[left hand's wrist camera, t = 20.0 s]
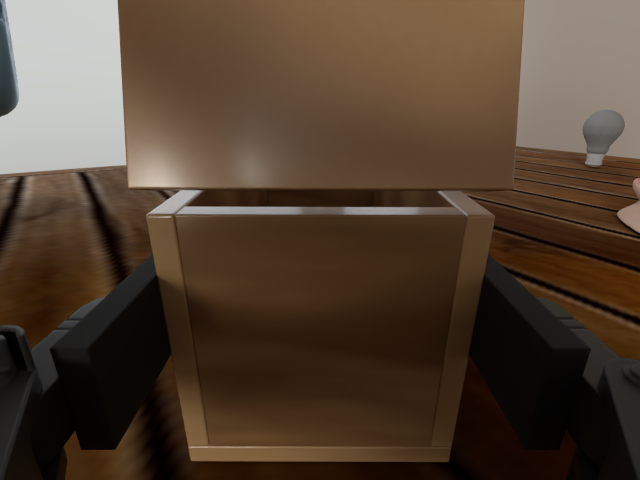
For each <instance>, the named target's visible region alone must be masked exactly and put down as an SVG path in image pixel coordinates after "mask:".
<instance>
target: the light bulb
mask: <svg viewBox="0 0 640 480" xmlns="http://www.w3.org/2000/svg"><path fill="white" fill-rule="evenodd" d="M624 126H625V123H624V119H623V118H622V116H621V115H620V114H619V113H618V112H615V111H612V110H603V111H599V112H596V113H594V114H593V115H592V116H590V117H589V118H588V119H587V120H586V122H585V123H584V126H583V135H584V138H585V140H586V143H587V152H588V153H587V156H588V157H586V158H587V159H586V160H587V161H586V162H585V164H587V165H588V166H591V167H597V166H600V165H602V160H603V158H604V156H605V154H606V153H607V151H608V150H609V147H610V145H611V144H612V143H613V142H614V141H615V140H616V139H617V138H618V137H619V136H620V135H621V133H622V132H623V130H624Z"/></svg>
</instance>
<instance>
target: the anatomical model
mask: <svg viewBox="0 0 640 480" xmlns="http://www.w3.org/2000/svg"><path fill="white" fill-rule="evenodd" d="M633 189H634V191H635V193H636V195H637V196H638V198H639V201H638V202H637V203H635V204H633V205H631V206H628V207H626V208H624V209H622V210H620V211H619V212H618V213H617V216H618V217H619V219H620V220H621V221H623V222H624V223H625V224H626V225H628V226H629V227H631V228H632V229H634V230H635V231H637V232H639V233H640V178H637V179H635V180H634V182H633Z"/></svg>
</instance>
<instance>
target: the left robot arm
mask: <svg viewBox="0 0 640 480" xmlns="http://www.w3.org/2000/svg"><path fill="white" fill-rule="evenodd" d="M18 100H19V91H18V82H17V75H16V68H15V61H14V54H13V48H12V41H11V35H10V29H9V23H8V17H7V11H6V5H5V0H0V117H1V116H3V115H6V114H8V113H9V112H11V111H12V110H13V109H14V108H15V107H16V105H17V103H18ZM469 354H470V356H471V358H472V359H473V361H474V363H475V365H476V366H477V368H478V370H479V371H480V373H481V375H482V377H483V378H484V380H485V382H486V383H487V385H488V387H489V389H490V390H491V392H492V394H493V395H494V397H495V399H496V401H497V402H498V404H499V406H500V407H501V409H502V411H503V413H504V414H505V416H506V418H507V419H508V421H509V423H510V424H511V426H512V428H513V430H514V431H515V433H516V435H517V436H518V438H519V440H520V442H521V443H522V445H523V447H524V448H525V450H559V449H560V445H561V442H562V439H563V436H564V433H565V430H567V431H568V433H569V434H570V435H571V437H572V438H573V439H574V441H575V442H576V443H577V447H576V450H575V453H574V456H573V459H572V462H571V465H570V468H569V470H568V473H567V476H566V480H574V479H576V480H640V361H639V360H636V359H629V358H623V357H622V358H620V357H619V356H618V355H617V354H616V353H615V352H613V351H612V350H611V349H610V348H609V347H608V346H606V345H605V344H604V343H603V342H602V341H601V340H599V339H598V338H597V337H596V336H595V335H594V334H592V333H591V332H590V331H589V330H588V329H585V328H584V326H583V325H582V324H581V323H580V322H578V321H577V320H574V317H573V316H571V315H570V314H569V313H568V312H567V311H566V310H565V309H563V308H562V307H561V306H559V305H557V304H555V303H553V302H552V301H550V300H548V299H546V298H544V297H534V296H533V295H532V294H531V293H530V292H529V291H528V290H527V289H526V288H525V287H523V286H522V285H521V284H520V283H519V282H518V281H517V280H516V279H515V278H514V277H513V276H512V275H510V274H509V273H508V272H507V271H506V270H505V269H504V268H503V267H502V266H501V265H500V264H499V263H497V262H496V261H495V260H494V259H493V258H492V257H491V256H490V255H489V254H488V258H487V263H486V268H485V273H484V278H483V284H482V289H481V294H480V299H479V305H478V310H477V315H476V320H475V326H474V331H473V336H472V341H471V347H470V352H469ZM170 355H171V350H170V344H169V339H168V333H167V328H166V323H165V317H164V312H163V306H162V301H161V295H160V290H159V284H158V279H157V274H156V268H155V263H154V257H153V254H152V255H151V256H150V257H148V258H147V259H146V260H145V261H144V262H143V263H142V264H141V265H140V266H139V267H138V268H137V269H135V270H134V271H133V272H132V273H131V274H130V275H129V276H128V277H127V278H126V279H125V280H124V281H122V282H121V283H120V284H119V285H118V286H117V287H116V288H115V289H114V290H113V291H112V292H110V293H109V294H108V295H107V296H106V297H105V298H97V299H95V300H94V301H92V302H90V303H88V304H86V305H84V306H82V307H80V308H79V309H78V310H77V311H76V312H74V313H73V314H72V315H71V316H70V317H69V318H67V321H64V322H63V323H62V324H61V325H59V326H58V327H57V330H54V331H52V332H51V333H50V334H49V335H48V336H47V337H46V338H44V339H43V340H42V341H41V342H40V343H39V344H37V345H36V346H35V347H34V348H33V349H32V350H30V347H29V344H28V341H27V338H26V335H25V332H24V329H22V328H20V327H18V326H12V325H3V326H0V480H65V473H66V466H67V458H66V453H65V450H64V447H63V446H64V445H65V443H66V442H67V441H68V439H69V438H70V437H71V435H72V434H73V433H74V431H76V434H77V437H78V441H79V444H80V447H81V450H115V449H116V447H117V446H118V444H119V442H120V441H121V439H122V437H123V436H124V434H125V432H126V430H127V429H128V427H129V425H130V424H131V422H132V420H133V418H134V417H135V415H136V413H137V412H138V410H139V408H140V406H141V405H142V403H143V401H144V400H145V398H146V396H147V394H148V393H149V391H150V389H151V388H152V386H153V384H154V382H155V381H156V379H157V377H158V376H159V374H160V372H161V371H162V369H163V367H164V365H165V364H166V362H167V360H168V359H169V357H170Z"/></svg>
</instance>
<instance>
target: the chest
mask: <svg viewBox="0 0 640 480" xmlns="http://www.w3.org/2000/svg"><path fill="white" fill-rule="evenodd" d="M146 219H147V225H148V230H149V236H150V241H151V246H152V252H153V257H154V263H155V268H156V274H157V279H158V284H159V290H160V295H161V301H162V306H163V312H164V317H165V323H166V328H167V333H168V339H169V344H170V350H171V355H172V361H173V366H174V371H175V377H176V382H177V388H178V393H179V399H180V404H181V409H182V415H183V420H184V426H185V431H186V437H187V442H188V445H189V446H188V449H189V454H190V459H191V461H272V462H448V461H449V457H450V451H451V445H452V441H453V436H454V431H455V425H456V420H457V415H458V410H459V404H460V399H461V394H462V389H463V383H464V378H465V373H466V368H467V362H468V357H469V352H470V347H471V341H472V336H473V331H474V326H475V320H476V315H477V310H478V305H479V299H480V294H481V289H482V284H483V278H484V273H485V268H486V263H487V258H488V252H489V247H490V242H491V237H492V231H493V226H494V221H495V216H494V215H493V214H492V213H490V212H489V211H488V210H486V209H485V208H483V207H482V206H481V205H479V204H478V203H476V202H475V201H474V200H472V199H471V198H469V197H468V196H467V195H465V194H464V193H462V192H461V191H211V190H181V191H179V192H178V193H176V194H175V195H174V196H172V197H171V198H169V199H168V200H167V201H165V202H164V203H162V204H161V205H159V206H158V207H157V208H155V209H154V210H152V211H151V212H150V213H148V214H147V216H146Z"/></svg>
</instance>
